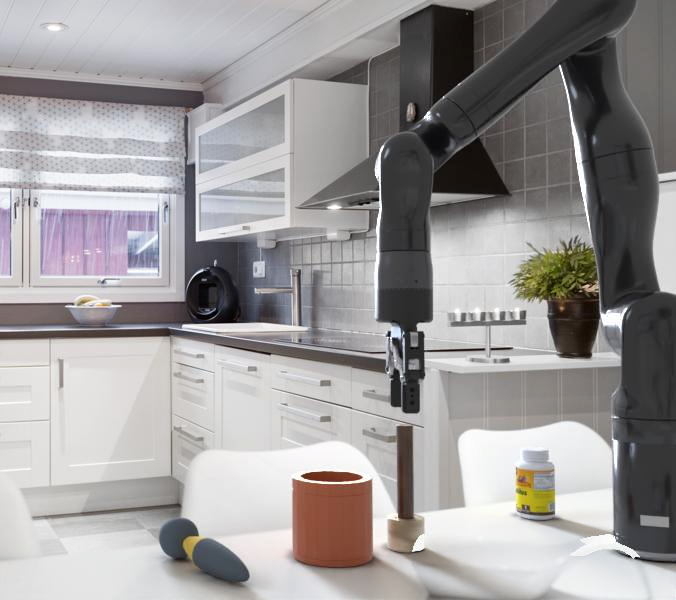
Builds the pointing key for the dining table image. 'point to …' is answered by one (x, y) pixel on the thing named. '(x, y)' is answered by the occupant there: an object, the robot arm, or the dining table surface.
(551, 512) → the supplement bottle
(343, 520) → the jar
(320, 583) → the dining table surface
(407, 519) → the brown rod with cap
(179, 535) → the paintbrush
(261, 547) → the dining table surface
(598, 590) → the dining table surface
